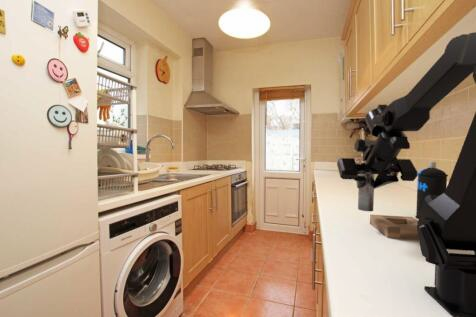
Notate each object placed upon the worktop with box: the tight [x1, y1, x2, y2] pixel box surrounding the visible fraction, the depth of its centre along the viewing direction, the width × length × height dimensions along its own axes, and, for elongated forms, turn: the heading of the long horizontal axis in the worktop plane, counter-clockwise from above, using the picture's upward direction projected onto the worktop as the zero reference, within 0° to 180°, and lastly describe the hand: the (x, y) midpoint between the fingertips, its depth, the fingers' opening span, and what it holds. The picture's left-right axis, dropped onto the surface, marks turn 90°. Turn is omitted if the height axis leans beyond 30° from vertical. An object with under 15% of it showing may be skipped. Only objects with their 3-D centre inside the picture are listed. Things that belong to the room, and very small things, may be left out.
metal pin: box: [357, 173, 375, 212], centre depth 68 cm, size 4×4×12 cm
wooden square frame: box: [369, 214, 419, 241], centre depth 67 cm, size 12×12×3 cm
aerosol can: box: [414, 161, 449, 220], centre depth 79 cm, size 8×8×20 cm
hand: (365, 187), depth 69 cm, fingers closed on metal pin, 4 cm apart
